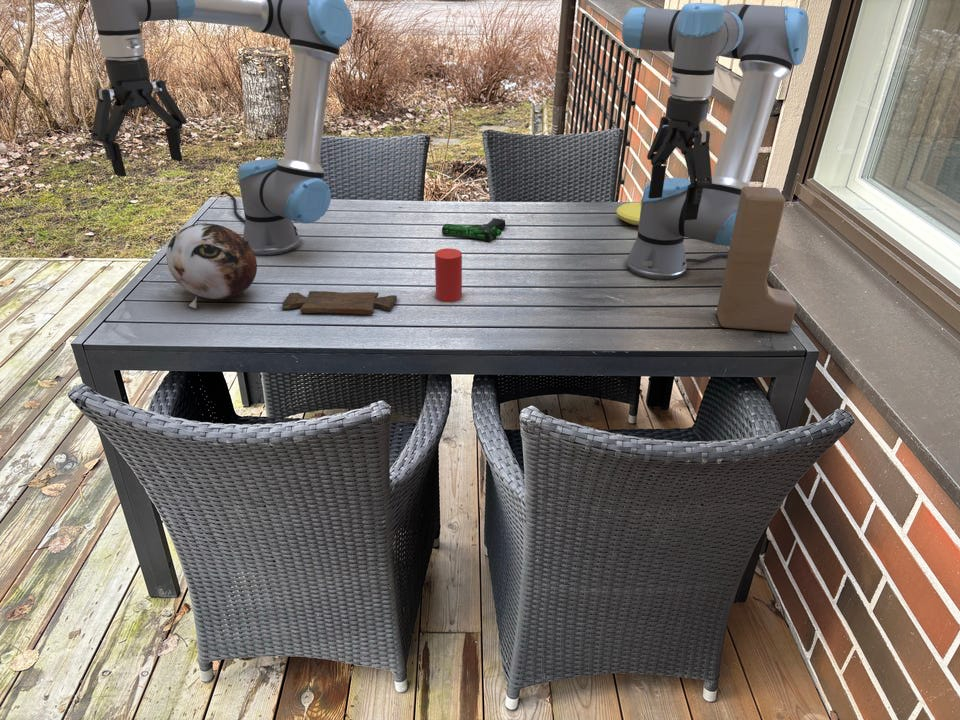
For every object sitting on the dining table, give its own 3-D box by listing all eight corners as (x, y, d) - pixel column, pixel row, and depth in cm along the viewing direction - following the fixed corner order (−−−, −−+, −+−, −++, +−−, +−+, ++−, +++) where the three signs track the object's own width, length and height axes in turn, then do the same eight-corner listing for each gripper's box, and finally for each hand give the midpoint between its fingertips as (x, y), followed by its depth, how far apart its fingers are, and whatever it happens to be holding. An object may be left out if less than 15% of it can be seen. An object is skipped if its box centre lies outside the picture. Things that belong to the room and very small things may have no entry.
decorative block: (790, 333, 157) (826, 200, 141) (720, 328, 158) (748, 196, 143) (782, 318, 163) (816, 189, 148) (715, 313, 165) (741, 185, 149)
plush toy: (130, 285, 161) (164, 203, 163) (192, 308, 177) (221, 233, 178) (195, 307, 151) (229, 220, 152) (254, 330, 166) (285, 250, 168)
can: (467, 296, 171) (467, 253, 165) (448, 304, 167) (448, 260, 161) (448, 288, 175) (448, 246, 169) (430, 296, 171) (429, 253, 165)
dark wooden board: (392, 317, 161) (397, 298, 170) (391, 310, 160) (397, 291, 169) (278, 313, 161) (289, 294, 170) (277, 306, 161) (289, 287, 169)
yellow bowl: (629, 210, 226) (631, 188, 223) (676, 220, 218) (680, 198, 215) (606, 223, 215) (608, 200, 212) (655, 235, 207) (658, 211, 204)
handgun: (511, 219, 210) (493, 234, 198) (511, 228, 211) (492, 244, 199) (461, 212, 215) (440, 226, 203) (461, 221, 217) (440, 236, 204)
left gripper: (76, 67, 127) (106, 185, 138) (191, 52, 145) (210, 156, 156) (51, 63, 130) (82, 178, 141) (167, 49, 149) (187, 151, 160)
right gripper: (639, 85, 141) (626, 190, 152) (708, 111, 121) (687, 231, 132) (672, 84, 143) (657, 188, 154) (746, 109, 123) (723, 227, 134)
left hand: (149, 167), depth 149 cm, fingers open, 13 cm apart
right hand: (671, 208), depth 143 cm, fingers open, 13 cm apart
